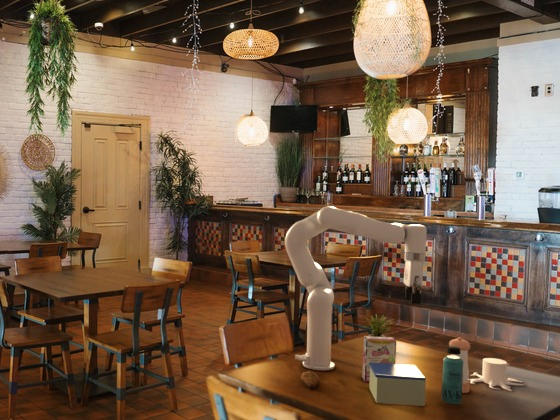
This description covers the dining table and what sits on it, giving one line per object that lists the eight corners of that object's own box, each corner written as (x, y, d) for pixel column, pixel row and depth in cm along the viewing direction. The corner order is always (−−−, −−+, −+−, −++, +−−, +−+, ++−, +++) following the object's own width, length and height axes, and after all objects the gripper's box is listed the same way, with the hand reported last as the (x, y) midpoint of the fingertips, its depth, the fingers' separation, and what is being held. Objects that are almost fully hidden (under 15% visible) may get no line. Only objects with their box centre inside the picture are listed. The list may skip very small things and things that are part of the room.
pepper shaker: (473, 392, 232) (475, 340, 231) (453, 393, 231) (455, 340, 230) (462, 386, 239) (464, 335, 238) (443, 386, 238) (445, 335, 237)
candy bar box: (364, 382, 242) (365, 339, 242) (361, 378, 247) (363, 335, 247) (395, 383, 241) (396, 340, 241) (392, 379, 246) (393, 336, 246)
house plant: (390, 356, 279) (391, 319, 278) (357, 351, 286) (359, 315, 285) (397, 349, 291) (398, 313, 290) (365, 344, 298) (366, 309, 297)
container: (376, 403, 220) (377, 377, 219) (369, 388, 235) (370, 364, 235) (424, 406, 217) (425, 380, 217) (414, 391, 233) (415, 367, 232)
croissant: (298, 377, 247) (298, 364, 247) (316, 378, 246) (316, 365, 246) (302, 389, 233) (302, 375, 233) (321, 390, 233) (321, 376, 233)
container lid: (375, 377, 219) (375, 375, 219) (368, 364, 235) (368, 362, 235) (425, 380, 217) (425, 377, 217) (415, 367, 232) (415, 364, 232)
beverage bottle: (437, 402, 221) (439, 344, 220) (455, 401, 222) (457, 344, 221) (447, 408, 215) (449, 349, 214) (466, 408, 215) (468, 349, 215)
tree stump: (534, 385, 242) (535, 363, 241) (503, 393, 232) (504, 371, 231) (483, 371, 259) (484, 351, 258) (453, 378, 249) (454, 357, 248)
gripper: (399, 253, 257) (397, 296, 258) (409, 259, 240) (407, 304, 241) (419, 254, 256) (417, 297, 257) (431, 260, 239) (428, 306, 240)
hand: (412, 301), depth 249 cm, fingers open, 9 cm apart
